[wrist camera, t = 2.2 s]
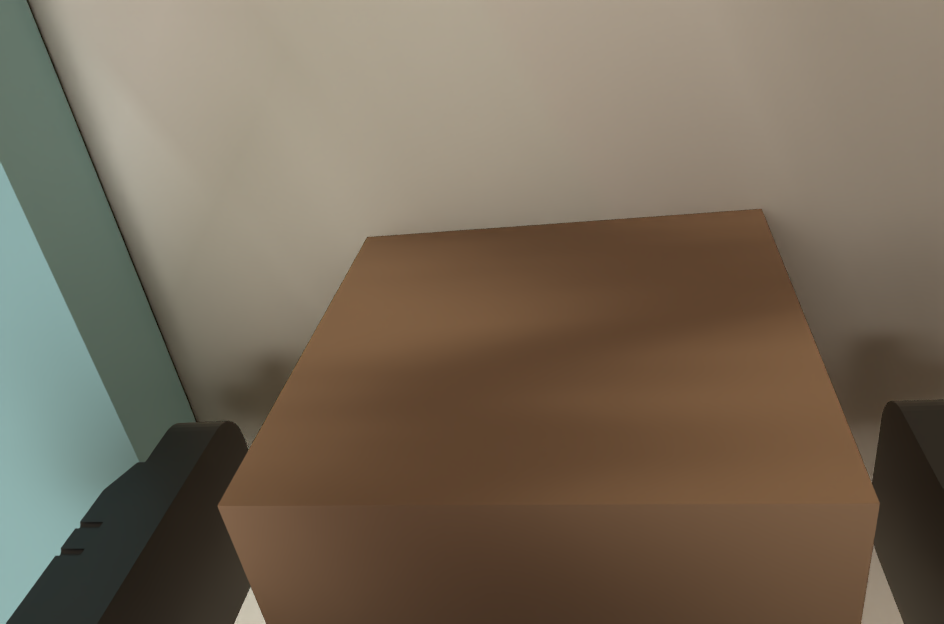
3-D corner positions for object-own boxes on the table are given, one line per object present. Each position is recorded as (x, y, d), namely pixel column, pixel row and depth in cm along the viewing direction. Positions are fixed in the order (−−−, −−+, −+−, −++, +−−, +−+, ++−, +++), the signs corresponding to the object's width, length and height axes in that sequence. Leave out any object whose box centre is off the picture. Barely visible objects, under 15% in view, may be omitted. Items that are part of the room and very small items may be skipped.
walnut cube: (759, 206, 10) (880, 503, 6) (747, 505, 12) (822, 864, 8) (368, 235, 11) (217, 506, 7) (431, 505, 13) (351, 829, 9)
